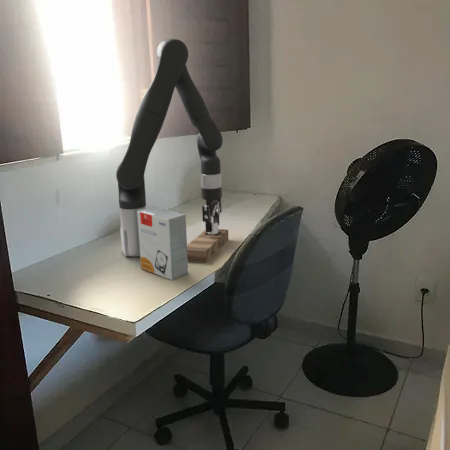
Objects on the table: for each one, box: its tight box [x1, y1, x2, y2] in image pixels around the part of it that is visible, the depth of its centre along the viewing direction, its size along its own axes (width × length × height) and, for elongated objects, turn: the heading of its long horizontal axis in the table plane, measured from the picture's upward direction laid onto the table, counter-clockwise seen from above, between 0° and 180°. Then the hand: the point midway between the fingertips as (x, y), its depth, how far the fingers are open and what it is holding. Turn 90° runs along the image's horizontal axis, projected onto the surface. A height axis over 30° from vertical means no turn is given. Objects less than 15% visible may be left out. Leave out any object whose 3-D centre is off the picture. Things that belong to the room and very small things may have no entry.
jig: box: [187, 228, 229, 263], centre depth 184 cm, size 25×8×4 cm, turn 162°
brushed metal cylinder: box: [208, 221, 219, 236], centre depth 189 cm, size 4×4×8 cm
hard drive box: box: [137, 206, 189, 281], centre depth 162 cm, size 16×8×20 cm, turn 47°
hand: (212, 228), depth 189 cm, fingers open, 8 cm apart
